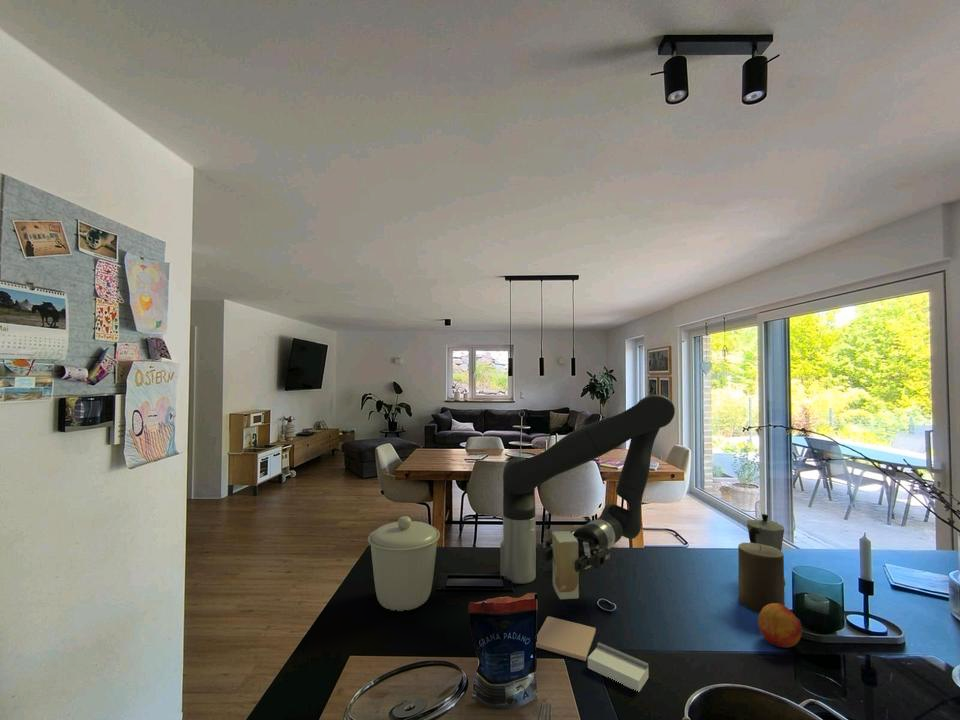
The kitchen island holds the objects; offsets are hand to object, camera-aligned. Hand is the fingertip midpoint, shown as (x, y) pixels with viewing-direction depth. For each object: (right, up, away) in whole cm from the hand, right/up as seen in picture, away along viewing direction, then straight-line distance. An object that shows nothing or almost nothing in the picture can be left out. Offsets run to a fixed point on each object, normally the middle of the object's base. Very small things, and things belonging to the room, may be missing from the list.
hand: (560, 561), depth 92 cm
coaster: (+1, -17, +1) cm, 17 cm away
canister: (-37, -18, +17) cm, 44 cm away
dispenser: (+9, -17, -10) cm, 21 cm away
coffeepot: (+63, -19, +28) cm, 71 cm away
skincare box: (+1, -8, +1) cm, 8 cm away
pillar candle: (+53, -18, +15) cm, 58 cm away
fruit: (+47, -17, -1) cm, 50 cm away
